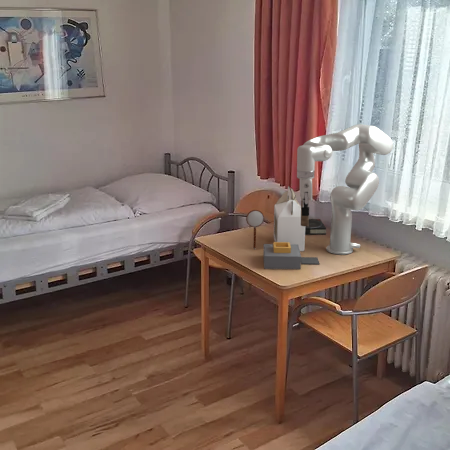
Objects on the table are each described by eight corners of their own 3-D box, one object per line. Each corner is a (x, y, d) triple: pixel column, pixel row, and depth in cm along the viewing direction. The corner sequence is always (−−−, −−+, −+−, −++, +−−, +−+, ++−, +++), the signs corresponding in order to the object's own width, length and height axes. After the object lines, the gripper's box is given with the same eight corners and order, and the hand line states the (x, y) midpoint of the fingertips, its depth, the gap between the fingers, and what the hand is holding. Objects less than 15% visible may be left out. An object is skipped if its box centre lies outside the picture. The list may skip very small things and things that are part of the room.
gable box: (304, 251, 263) (306, 195, 255) (276, 251, 263) (278, 195, 255) (298, 236, 284) (301, 184, 276) (273, 236, 284) (274, 184, 276)
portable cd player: (294, 236, 287) (295, 228, 286) (290, 226, 303) (290, 219, 302) (325, 235, 287) (326, 228, 286) (319, 225, 304) (320, 219, 302)
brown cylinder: (308, 223, 247) (308, 191, 242) (308, 226, 243) (309, 193, 239) (300, 223, 247) (300, 191, 242) (300, 226, 244) (301, 193, 239)
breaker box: (297, 256, 256) (298, 239, 254) (300, 269, 241) (301, 251, 238) (263, 256, 257) (263, 238, 254) (264, 268, 242) (264, 250, 239)
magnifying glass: (246, 250, 264) (246, 210, 258) (245, 249, 266) (245, 209, 260) (263, 249, 265) (264, 210, 259) (262, 248, 267) (263, 209, 261)
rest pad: (317, 258, 254) (317, 257, 254) (319, 264, 246) (319, 263, 246) (300, 258, 254) (300, 257, 254) (301, 264, 247) (301, 263, 247)
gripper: (316, 178, 230) (315, 219, 236) (312, 169, 245) (311, 208, 251) (298, 178, 230) (297, 220, 236) (295, 169, 246) (295, 208, 252)
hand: (305, 213), depth 244 cm, fingers closed on brown cylinder, 3 cm apart
